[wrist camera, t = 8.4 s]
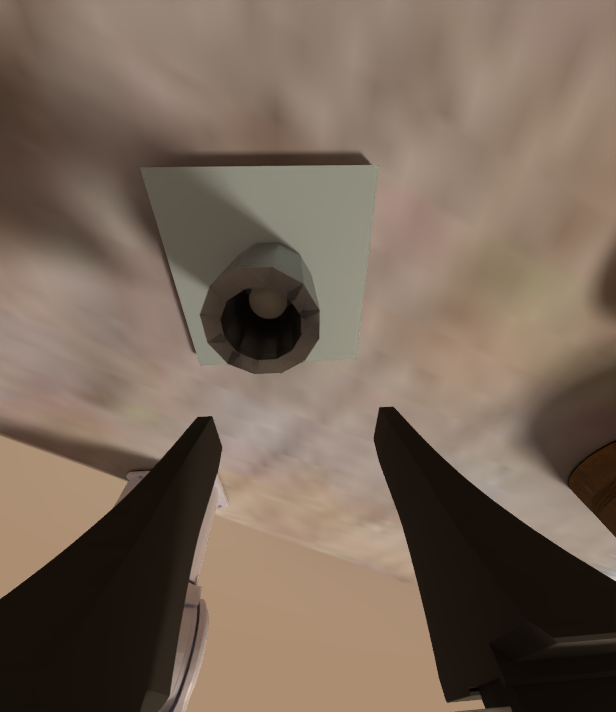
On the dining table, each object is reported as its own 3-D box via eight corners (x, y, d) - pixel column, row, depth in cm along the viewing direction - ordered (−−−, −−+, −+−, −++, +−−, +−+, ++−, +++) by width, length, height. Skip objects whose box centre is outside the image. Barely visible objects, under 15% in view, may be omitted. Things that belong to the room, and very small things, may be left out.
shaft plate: (203, 358, 20) (185, 391, 16) (149, 169, 13) (99, 159, 10) (354, 352, 20) (366, 383, 17) (373, 167, 14) (400, 157, 10)
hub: (238, 322, 17) (216, 375, 12) (224, 243, 14) (186, 268, 9) (311, 320, 17) (319, 371, 12) (311, 241, 14) (320, 265, 9)
